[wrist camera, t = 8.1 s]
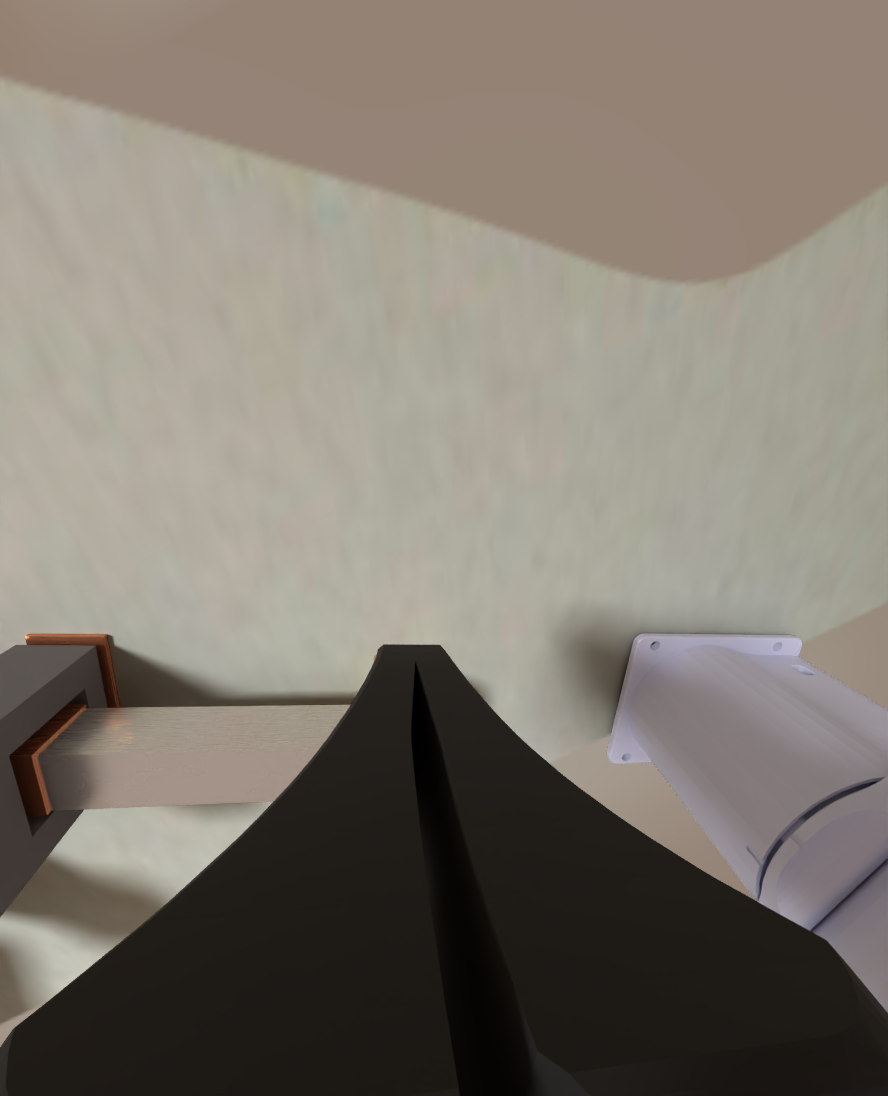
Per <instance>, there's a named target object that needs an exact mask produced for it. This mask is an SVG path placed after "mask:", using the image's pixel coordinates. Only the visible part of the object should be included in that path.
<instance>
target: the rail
mask: <svg viewBox="0 0 888 1096" xmlns="http://www.w3.org/2000/svg"><path fill="white" fill-rule="evenodd" d="M25 639H26V643H27V645H84V646H96V651H97V656H98V661H99V666H100V671H101V676H102V681H103V687H104V692H105V697H106V702H107V707H108V708H86V704H79V705H66V706H64V707H63V708H62V709H61V710H60V711H59V712H58V713H57V714H55V715H54V716H53V717H52V718H51V719H50V720H49V721H48V722H46V723H45V724H44V725H43V726H42V727H41V728H40V729H39V730H37V731H36V732H35V733H34V734H33V735H32V736H31V737H30V738H28V739H27V740H26V741H25V742H24V743H23V744H22V745H21V746H19V747H18V748H17V749H16V750H15V751H14V752H13V753H12V754H10V755H9V758H10V761H11V765H12V768H13V772H14V775H15V779H16V782H17V786H18V789H19V792H20V796H21V799H22V803H23V806H24V810H25V813H26V816H46V815H48V814H49V813H50V812H51V811H57V810H81V809H104V808H128V807H151V806H174V805H198V804H221V803H245V802H268V801H275V800H276V798H277V797H278V796H279V795H280V794H281V793H282V792H283V791H284V790H285V789H286V788H287V787H288V786H289V784H290V783H291V782H292V781H293V780H294V779H295V778H296V777H297V775H298V774H299V773H300V772H301V771H302V769H303V768H304V767H305V766H306V765H307V764H308V762H309V761H310V760H311V759H312V757H313V756H314V755H315V754H316V753H317V751H318V750H319V749H320V747H321V746H322V745H323V743H324V742H325V741H326V740H327V738H328V737H329V736H330V734H331V733H332V731H333V730H334V728H335V727H336V726H337V724H338V723H339V721H340V720H341V718H342V717H343V715H344V714H345V713H346V711H347V710H348V708H349V707H350V705H292V706H213V707H134V708H120V705H119V699H118V694H117V688H116V683H115V678H114V672H113V667H112V661H111V656H110V650H109V645H108V639H107V635H89V634H28V635H26V636H25ZM375 658H376V656H374V661H375Z"/></svg>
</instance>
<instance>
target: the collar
mask: <svg viewBox="0 0 888 1096" xmlns="http://www.w3.org/2000/svg"><path fill="white" fill-rule="evenodd" d="M79 704H86V708H108V707H107V702H106V697H105V692H104V687H103V681H102V676H101V671H100V666H99V661H98V656H97V651H96V646H84V645H15V646H14V647H12V648H10V649H9V650H7V651H6V652H4V653H2V654H1V655H0V917H1V915H2V914H3V913H4V912H5V910H6V909H7V908H8V906H9V905H10V904H11V903H12V901H13V900H14V899H15V897H16V896H17V895H18V894H19V892H20V891H21V890H22V888H23V887H24V886H25V885H26V883H27V882H28V881H29V880H30V878H31V877H32V876H33V874H34V873H35V872H36V871H37V869H38V868H39V867H40V865H41V864H42V863H43V862H44V860H45V859H46V858H47V856H48V855H49V854H50V853H51V851H52V850H53V849H54V847H55V846H56V845H57V844H58V842H59V841H60V840H61V839H62V837H63V836H64V835H65V833H66V832H67V831H68V830H69V828H70V827H71V826H72V824H73V823H74V822H75V821H76V819H77V818H78V817H79V815H80V814H81V813H82V812H83V810H84V809H81V810H57V811H51V812H50V813H49V814H48V815H46V816H26V813H25V810H24V806H23V803H22V799H21V796H20V792H19V789H18V786H17V782H16V779H15V775H14V772H13V768H12V765H11V761H10V758H9V755H10V754H12V753H13V752H14V751H15V750H16V749H17V748H18V747H19V746H21V745H22V744H23V743H24V742H25V741H26V740H27V739H28V738H30V737H31V736H32V735H33V734H34V733H35V732H36V731H37V730H39V729H40V728H41V727H42V726H43V725H44V724H45V723H46V722H48V721H49V720H50V719H51V718H52V717H53V716H54V715H55V714H57V713H58V712H59V711H60V710H61V709H62V708H63V707H64V706H66V705H79Z"/></svg>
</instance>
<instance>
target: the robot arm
mask: <svg viewBox="0 0 888 1096" xmlns="http://www.w3.org/2000/svg"><path fill="white" fill-rule="evenodd" d="M655 641H656V642H655ZM653 642H655V644H654V645H652V646H651V644H652V643H653ZM801 647H802V641H801V640H800V639H799V638H797V637H796V636H793V635H741V634H654V633H644V634H640V635H638V636H637V637H636V638H635V639H634V642H633V645H632V649H631V654H630V658H629V662H628V666H627V670H626V674H625V678H624V683H623V687H622V691H621V695H620V699H619V703H618V708H617V712H616V716H615V720H614V724H613V728H612V732H611V737H610V741H609V745H608V750H607V757H608V759H609V760H610V762H611V763H614V764H628V763H653V764H654V765H655V767H656V768H657V769H658V771H659V772H660V773H661V775H662V776H663V777H664V779H665V780H666V781H667V783H668V784H669V785H670V787H671V788H672V789H673V791H674V792H675V793H676V795H677V796H678V797H679V799H680V800H681V801H682V803H683V804H684V805H685V806H686V808H687V809H688V811H689V812H690V813H691V815H692V816H693V817H694V819H695V820H696V821H697V823H698V824H699V825H700V827H701V828H702V829H703V830H704V832H705V833H706V835H707V836H708V837H709V839H710V840H711V841H712V842H713V844H714V845H715V847H716V848H717V849H718V851H719V852H720V853H721V855H722V856H723V857H724V859H725V860H726V861H727V863H728V864H729V865H730V867H731V868H732V869H733V871H734V872H735V873H736V875H737V876H738V877H739V879H740V880H741V881H742V883H743V884H744V885H745V887H746V888H747V889H748V891H749V892H750V893H751V895H752V896H753V897H754V899H755V900H756V901H755V900H753V899H752V898H750V897H748V896H746V895H744V894H743V893H741V892H739V891H737V890H735V889H733V888H732V887H730V886H728V885H726V884H725V883H723V882H721V881H719V880H717V879H716V878H714V877H712V876H711V875H709V874H707V873H706V872H704V871H702V870H701V869H699V868H697V867H696V866H694V865H693V864H691V863H689V862H688V861H686V860H684V859H683V858H681V857H680V856H678V855H676V854H675V853H673V852H672V851H670V850H669V849H667V848H665V847H664V846H662V845H661V844H659V843H657V842H656V841H654V840H653V839H651V838H649V837H648V836H647V835H645V834H644V833H642V832H641V831H639V830H638V829H636V828H635V827H633V826H631V825H630V824H628V823H627V822H626V821H624V820H623V819H621V818H620V817H618V816H617V815H616V814H614V813H613V812H612V811H610V810H609V809H607V808H606V807H605V806H603V805H602V804H601V803H599V802H598V801H596V800H595V799H594V798H592V797H591V796H590V795H588V794H587V793H585V792H584V791H583V790H581V789H580V788H578V787H577V786H576V785H575V784H574V783H572V782H571V781H570V780H568V779H567V778H566V777H565V776H563V775H562V774H561V773H560V772H558V771H557V770H556V769H555V768H554V767H553V766H552V765H550V764H549V763H548V762H547V761H546V760H544V759H543V758H542V757H541V756H540V755H539V754H537V753H536V752H535V751H534V750H533V749H532V748H530V747H529V746H528V745H527V744H526V743H525V742H524V741H523V740H522V739H521V738H520V737H519V736H518V735H517V734H516V733H515V732H514V731H513V730H512V729H511V728H510V727H509V726H508V725H507V724H506V723H505V722H504V721H503V720H502V719H501V718H500V717H499V716H498V715H497V714H496V713H495V712H494V711H493V709H492V708H491V707H490V706H489V705H488V704H487V703H486V702H485V700H484V699H483V698H482V697H481V696H480V695H479V693H478V692H477V691H476V690H475V689H474V688H473V686H472V685H471V684H470V683H469V681H468V680H467V679H466V678H465V676H464V675H463V674H462V673H461V671H460V670H459V669H458V667H457V666H456V665H455V663H454V662H453V661H452V659H451V658H450V657H449V655H448V654H447V653H446V651H445V650H444V649H443V648H442V647H441V645H383V646H381V647H380V648H379V649H378V652H377V656H376V658H375V661H374V663H373V666H372V668H371V670H370V672H369V674H368V676H367V678H366V680H365V682H364V683H363V685H362V687H361V688H360V690H359V692H358V693H357V695H356V697H355V699H354V700H353V702H352V704H351V705H350V707H349V708H348V710H347V711H346V713H345V714H344V715H343V717H342V718H341V720H340V721H339V723H338V724H337V726H336V727H335V728H334V730H333V731H332V733H331V734H330V736H329V737H328V738H327V740H326V741H325V742H324V743H323V745H322V746H321V747H320V749H319V750H318V751H317V753H316V754H315V755H314V756H313V757H312V759H311V760H310V761H309V762H308V764H307V765H306V766H305V767H304V768H303V769H302V771H301V772H300V773H299V774H298V775H297V777H296V778H295V779H294V780H293V781H292V782H291V783H290V784H289V786H288V787H287V788H286V789H285V790H284V791H283V792H282V793H281V794H280V795H279V796H278V797H277V798H276V800H275V801H274V802H273V803H272V804H271V805H270V806H269V807H268V808H267V809H266V810H265V811H264V812H263V813H262V815H261V816H260V817H259V818H258V819H257V820H256V821H255V822H254V823H253V824H252V825H251V826H250V827H249V828H248V829H247V830H246V831H245V832H244V833H243V834H242V835H241V836H240V837H239V838H238V839H237V840H236V841H234V842H233V843H232V844H231V845H230V846H229V847H228V848H227V849H226V850H225V851H224V852H222V853H221V854H220V855H219V856H218V857H217V858H216V859H215V860H214V861H213V862H212V863H210V864H209V865H208V866H207V867H206V868H205V869H204V870H203V871H202V872H201V873H200V874H199V875H197V876H196V877H195V878H194V879H193V880H192V881H191V882H190V883H189V884H188V885H187V886H185V887H184V888H183V889H182V890H181V891H180V892H179V893H178V894H177V895H176V896H175V897H174V898H172V899H171V900H170V901H169V902H168V903H167V904H166V905H164V906H163V907H162V908H161V909H160V910H159V911H157V912H156V913H155V914H154V915H153V916H152V917H151V918H149V919H148V920H147V921H146V922H145V923H143V924H142V925H141V926H140V927H138V928H137V929H136V930H135V931H134V932H132V933H131V934H130V935H129V936H127V937H126V938H125V939H124V940H123V941H121V942H120V943H119V944H118V945H116V946H115V947H114V948H113V949H112V950H110V951H109V952H108V953H107V954H105V955H104V956H103V957H102V958H101V959H99V960H98V961H97V962H96V963H94V964H93V965H92V966H91V967H90V968H88V969H87V970H86V971H85V972H83V973H82V974H81V975H80V976H79V977H77V978H76V979H75V980H74V981H72V982H71V983H70V984H69V985H67V986H66V987H65V988H64V989H63V990H61V991H60V992H59V993H58V994H56V995H55V996H54V997H53V998H52V999H50V1000H49V1001H48V1002H47V1003H45V1004H44V1005H43V1006H42V1007H40V1008H39V1009H38V1010H37V1011H35V1012H34V1013H33V1014H31V1015H30V1016H29V1017H28V1018H26V1019H25V1020H24V1021H23V1022H21V1023H20V1024H19V1025H17V1026H16V1027H15V1028H14V1029H13V1030H12V1032H11V1033H10V1034H9V1036H8V1037H7V1039H6V1040H5V1041H4V1043H3V1044H2V1046H1V1047H0V1096H888V710H887V709H885V708H884V707H882V706H881V705H879V704H877V703H875V702H874V701H872V700H870V699H869V698H867V697H865V696H864V695H862V694H860V693H859V692H857V691H855V690H854V689H852V688H850V687H849V686H847V685H845V684H844V683H842V682H840V681H838V680H837V679H835V678H833V677H832V676H830V675H828V674H827V673H825V672H823V671H822V670H820V669H818V668H817V667H815V666H813V665H812V664H810V663H808V662H806V661H805V660H803V659H802V658H800V657H798V655H799V652H800V650H801ZM624 754H625V755H624Z"/></svg>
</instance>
